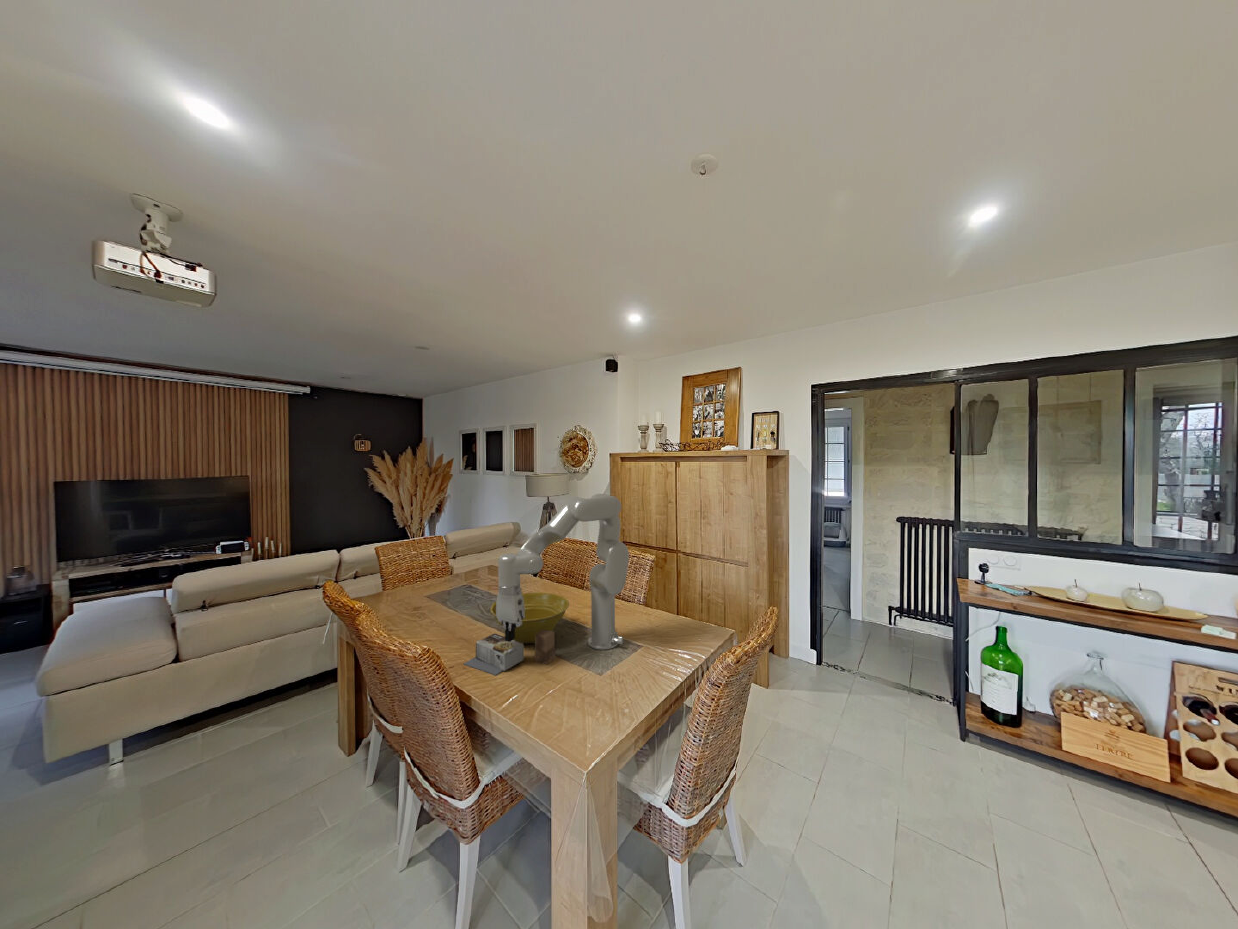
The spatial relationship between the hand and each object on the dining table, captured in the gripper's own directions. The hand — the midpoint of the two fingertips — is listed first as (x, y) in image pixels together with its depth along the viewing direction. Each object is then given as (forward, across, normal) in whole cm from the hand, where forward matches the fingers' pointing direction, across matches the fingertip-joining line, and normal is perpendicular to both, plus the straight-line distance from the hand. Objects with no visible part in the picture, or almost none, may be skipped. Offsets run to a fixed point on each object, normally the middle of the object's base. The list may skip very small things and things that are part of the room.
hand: (510, 639), depth 144 cm
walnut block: (+10, -8, -10) cm, 16 cm away
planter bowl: (+10, +10, -22) cm, 26 cm away
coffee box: (+6, -2, 0) cm, 6 cm away
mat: (+10, +8, +1) cm, 12 cm away
